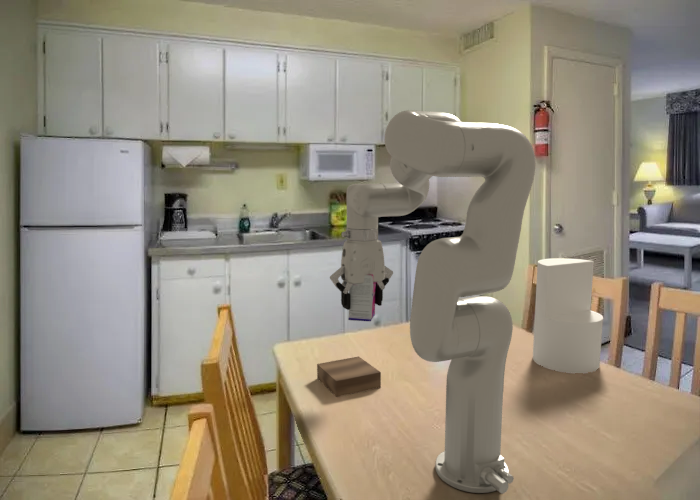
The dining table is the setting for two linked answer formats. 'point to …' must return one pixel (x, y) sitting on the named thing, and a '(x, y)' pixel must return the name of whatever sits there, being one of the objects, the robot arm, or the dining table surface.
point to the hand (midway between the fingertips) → (362, 306)
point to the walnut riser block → (348, 376)
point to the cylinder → (566, 317)
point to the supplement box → (362, 300)
